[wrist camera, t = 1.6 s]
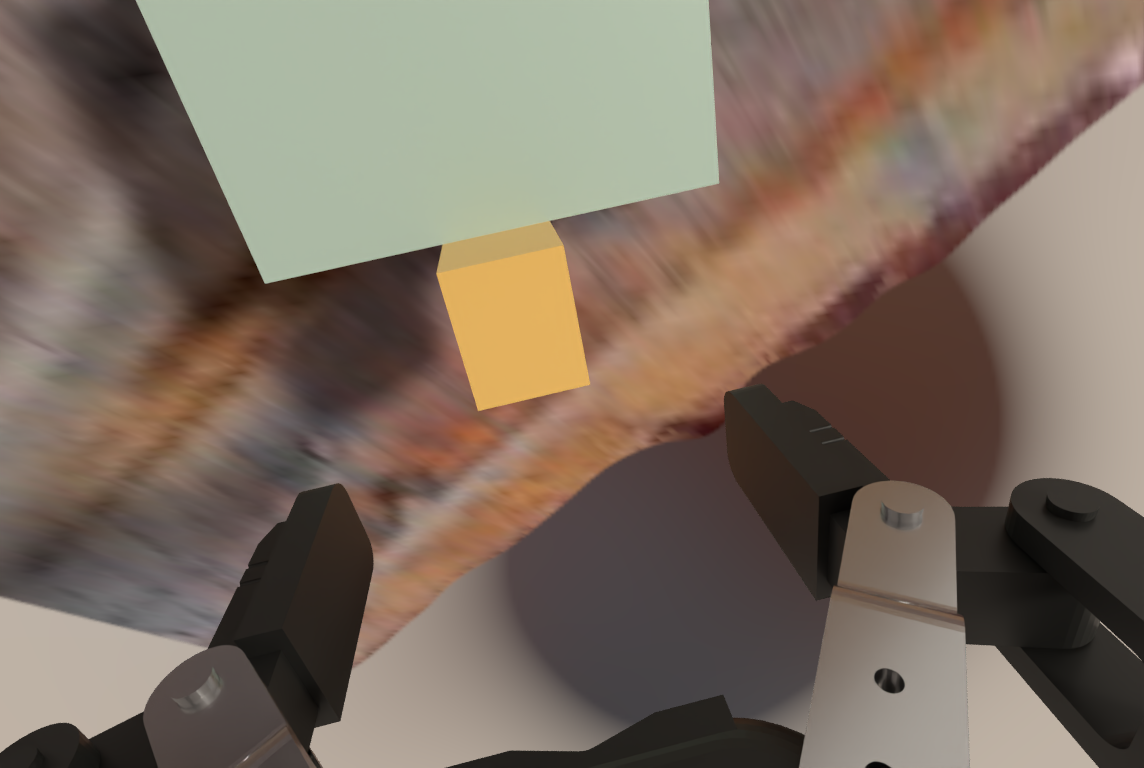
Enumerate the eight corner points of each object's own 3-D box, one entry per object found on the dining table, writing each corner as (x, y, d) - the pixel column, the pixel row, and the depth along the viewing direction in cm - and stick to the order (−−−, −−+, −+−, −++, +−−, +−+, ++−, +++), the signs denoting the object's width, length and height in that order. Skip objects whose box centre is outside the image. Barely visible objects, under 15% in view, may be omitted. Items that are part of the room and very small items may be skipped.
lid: (330, 379, 25) (291, 454, 20) (90, -171, 16) (-86, -290, 11) (709, 292, 26) (767, 342, 20) (667, -275, 17) (749, -431, 12)
